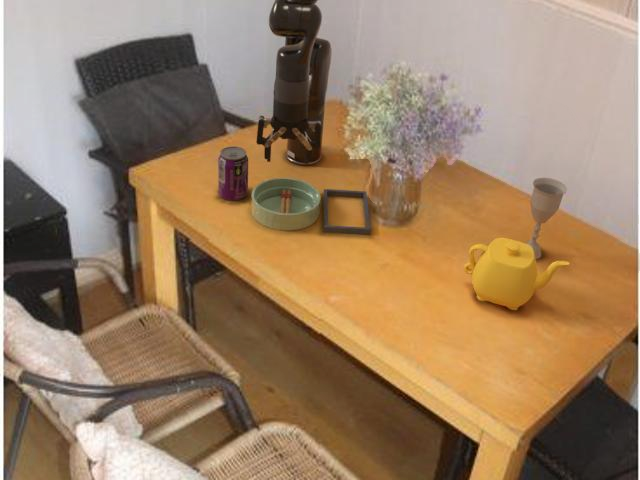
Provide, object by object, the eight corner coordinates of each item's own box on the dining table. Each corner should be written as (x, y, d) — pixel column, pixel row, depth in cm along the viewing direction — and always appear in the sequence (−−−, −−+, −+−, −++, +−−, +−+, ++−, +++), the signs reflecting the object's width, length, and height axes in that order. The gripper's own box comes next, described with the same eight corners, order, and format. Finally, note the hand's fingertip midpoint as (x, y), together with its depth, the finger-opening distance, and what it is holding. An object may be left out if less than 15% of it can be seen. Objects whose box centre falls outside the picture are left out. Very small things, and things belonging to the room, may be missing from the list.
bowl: (253, 193, 181) (254, 175, 178) (318, 196, 182) (320, 179, 179) (248, 230, 168) (249, 212, 165) (319, 234, 169) (320, 216, 166)
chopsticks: (281, 197, 179) (281, 188, 178) (291, 197, 179) (291, 189, 178) (279, 225, 170) (279, 216, 168) (289, 225, 170) (290, 216, 168)
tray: (323, 195, 182) (323, 188, 181) (365, 198, 183) (366, 191, 182) (323, 234, 169) (324, 227, 168) (369, 236, 169) (370, 229, 168)
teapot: (467, 264, 163) (478, 217, 156) (557, 289, 158) (573, 242, 151) (453, 300, 153) (464, 251, 145) (550, 329, 148) (567, 280, 140)
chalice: (547, 248, 171) (568, 182, 160) (544, 264, 166) (566, 197, 155) (516, 240, 172) (534, 174, 162) (512, 256, 167) (531, 189, 157)
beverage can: (246, 204, 177) (246, 161, 170) (216, 202, 177) (216, 158, 170) (249, 188, 183) (249, 146, 176) (220, 186, 182) (220, 144, 175)
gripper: (324, 90, 161) (318, 155, 170) (259, 86, 160) (257, 151, 169) (324, 105, 154) (318, 171, 164) (256, 100, 154) (255, 167, 163)
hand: (287, 161), depth 167 cm, fingers open, 8 cm apart
